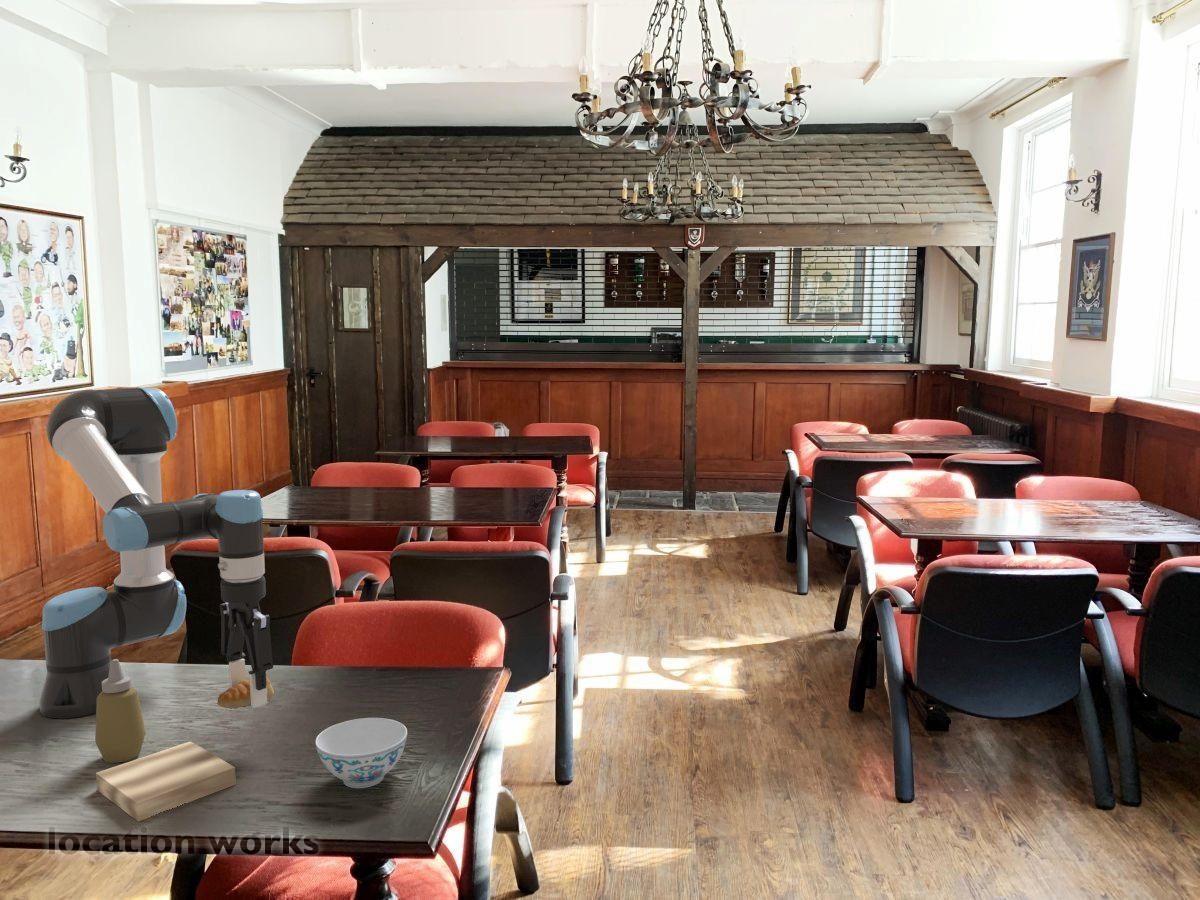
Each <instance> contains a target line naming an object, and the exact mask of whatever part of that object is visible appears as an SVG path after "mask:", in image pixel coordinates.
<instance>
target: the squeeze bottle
mask: <svg viewBox="0 0 1200 900" xmlns="http://www.w3.org/2000/svg"><path fill="white" fill-rule="evenodd" d="M102 691H103V692H101V693H100V694H99V695H98V696H97V707H96V713H95V740H94V742H95V745H96V747H97V748H98V751H99V753H100V755H101V757H102V759H103V761H104V762H105V763H111V764H116V763H117V764H118V763H124V762H127V761H128V762H129V761H132V760H134V759H135V758H137V757H138V756H139V755H140V754H141V751H142V746H143V744H144V740H145V737H146V729H145V724H144V718H143V712H142V708H141V703H140V697H139V693H138V690H137V688H134V687H132V678H131V677H130V676H128V675H124V672H123V669H122V666H121V663H120V660H119V659H117V658H115V659H111V664H110V670H109V676H108V678H107V679H105V680H103V681H102Z"/></svg>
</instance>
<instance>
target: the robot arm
mask: <svg viewBox="0 0 1200 900" xmlns="http://www.w3.org/2000/svg"><path fill="white" fill-rule="evenodd" d="M46 423H47V424H46V436H47V439H48V442H49V445H50V447H51V448H52V449H53V451H54V453H55V454H56V455H58V456H59V458H62V459H63V460H66V461H68V462H69V464H70V465H71V466H72V468H73V469H74V470H75V472H76V473H77V475H78V476H79V478H80V479H81V480H82V482H83V483H84V485H85V486H86V487H87V489H88V490H89V492H90V494H92V496H93V497H94V499H95V501H96V502H97V503H98V505H99V506H100V508H101V509H102V510H103V512H104V513H105V514H104V516H103V519H102V520H103V521H102V532H103V537H104V538H105V542H106V545H107V546H108V547H109V549H110V550H112V551H113V552H116V553H118V552H119V558H120V559H119V560H120V573H119V574H118V575H117V576H116V577H115V578H114V580H113V590H112V591H106V589H105V588H103V587H101V586H90V587H86V588H85V587H82V588H77V589H73V590H70V591H66V592H64V593H61V594H59V595H56V596H54V597H52V598H50V599H49V600H47V602H45V604H44V605H43V608H42V623H41V629H42V631H43V632H42V633H43V641H44V655H45V663H46V666H45V667H46V677H45V680H44V683H43V686H42V691H41V694H40V697H39V703H38V704H39V713H40V715H42V716H43V717H45V718H46V717H47V718H51V719H73V718H80V717H81V718H82V717H85V716H90V715H94V714H95V715H96V707H97V696H98V695H99V694H100V693H101V692H103V691H102V681H103V680H105V679H107V678H108V676H109V670H110V664H111V660H112V651H111V650H112V649H114V648H118V647H124V646H127V645H132V644H136V643H141V642H144V641H149V640H157V639H160V638H162V637H164V636H167V635H171V634H174V633H176V632H177V631H178V630H179V629H180V628H181V626H182V625H183V623H184V620H185V618H186V612H187V597H186V594H185V588H184V586H183V584H182V582H181V581H179V580H177V579H175V575H174V573H173V572H172V571H170V570H169V569H167V568H166V549H165V546H166V545H171V544H172V545H173V544H179V543H186V542H193V541H197V540H203V539H211V538H212V539H216V540H217V541H218V543H217V545H218V556H219V557H218V558H219V563H218V564H217V567H218V569H219V576H220V578H221V580H220V599H221V600H222V601H223V602H224V603H220V604H219V610H220V616H221V617H220V619H221V623H220V624H221V626H220V628H221V629H220V630H221V631H220V632H221V633H220V634H221V635H220V637H221V639H220V645H221V646H220V647H221V648H220V649H221V650H220V652H221V653H220V654H221V655H222V656H226V657H225V658H226V661H227V662H228V672H229V673H228V674H229V688H233V687H234V686H236V685H237V684H239V683H240V682H242V681H246V680H247V679H246V662H245V661H246V659H245V658H244V657H246V656H247V655H246V653H244V652H243V651H244V644H246V647H247V654H248V657H249V661H250V666H251V670H250V671H248V674H249V679H250V693H251V706H250V707H251V708H252V709H255V708H258V707H261V706H264V705H268V702H267V686H266V677H267V671H269V670H273V668H274V660H273V649H272V640H271V631H270V629H271V628H270V627H271V626H270V625H271V616H270V615H269V614H265V615H264V614H262V611H261V606H260V601H261V600H262V599H264V598H265V596H266V595H267V593H266V592H267V591H266V589H267V588H266V587H267V586H266V577H265V576H264V574H265V573H266V568H265V567H266V566H265V550H264V521H263V519H264V518H263V517H264V512H263V507H262V497H261V495H260V493H259V492H258V491H256V490H251V489H249V490H248V489H236V490H235V489H233V490H232V489H231V490H227V491H222V492H220V493H218V494H215V493H199V494H196V495H193V496H192V497H191V498H188V499H181V500H173V501H165V502H163V493H162V491H163V490H162V479H161V478H162V475H161V459H162V457H163V456H164V455H165V454H166V453H167V452H168V443H170V442H172V441H173V440H175V438H176V437H177V432H178V419H177V415H176V411H175V409H174V405H173V403H172V401H171V400H170V398H169V396H168V395H167V394H166V393H165V392H164V391H163V390H161V389H159V388H156V387H141V386H138V387H123V388H108V389H106V388H105V389H84V390H79V391H76V392H73V393H71V394H69V395H67V396H65V397H64V398H62V399H61V400H60V401H59V402H58V403H57V404H56V405H55V407H54V408H53V409H52V410H51V412H50V414H49V416H48V419H47V422H46ZM245 642H246V643H245Z"/></svg>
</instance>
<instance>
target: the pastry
mask: <svg viewBox="0 0 1200 900" xmlns="http://www.w3.org/2000/svg"><path fill="white" fill-rule="evenodd" d="M266 686H267V703H268V702H270V701H271V700H273V699H274V696H275V691H274V688H273V686H272V684H271V681H270V679H269V678H268V676H266ZM216 702H217V703H216V704H217V705H218V706H219V707H223V708H226V709H230V710H232V709H234V710H236V709H238V708H247V707H251V693H250V678H249V679H246V681H242V682H240V683H239V684H237V685H236V686H234V687H233V688H230V687H229V688H228V689H226V690H225V691H223V692H222V693H219V696H218V697H217V701H216Z"/></svg>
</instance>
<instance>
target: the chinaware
mask: <svg viewBox="0 0 1200 900" xmlns="http://www.w3.org/2000/svg"><path fill="white" fill-rule="evenodd" d="M407 738H408V729H407V727H406V726H405V725H404V724H403V723H402V722H399V721H397V720H395V719H389V718H382V717H365V718H364V717H363V718H355V719H350V720H346V721H343V722H338V723H336V724H334V725H333V724H332V725H331V726H329V727H326V729H324V730H322V731H321V732H320V733H319V734H318V735H317V736H316V739H315V747H316V751H317V754H318V757H319V759H320V761H321V762H322V764H323V765H324V768H325V769H326V770H327V771H328V772H329V773H331V775H333V776H334V777H336V778H338V779H339V780H342V781H343V784H344V785H345V786H347V787H348V788H351V789H366V788H370V787H373V786H375V785H378V784H381V782H382V781H383V780H384V778H385V775H387V773H389V772H390V771H391V770H392V769H393V768H394V767H395V766H396V765H397V763H398V762H399V760H400V759H401V758H402V757H401V756H402V755H403V753H404V750H405V746H406V744H407V743H406V742H407Z"/></svg>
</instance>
